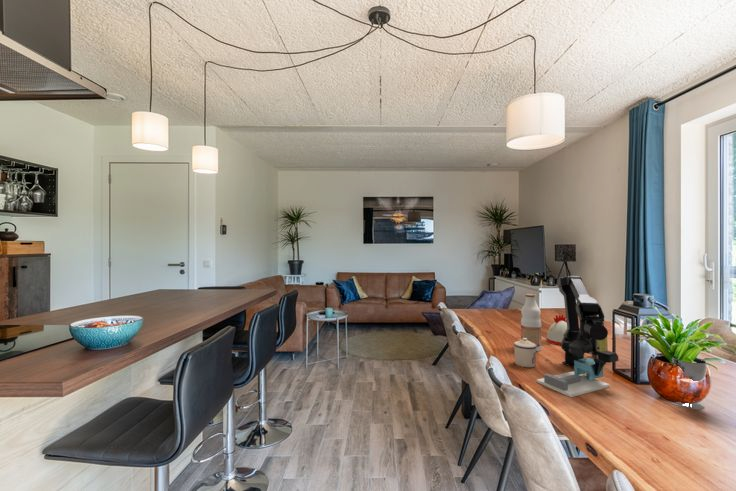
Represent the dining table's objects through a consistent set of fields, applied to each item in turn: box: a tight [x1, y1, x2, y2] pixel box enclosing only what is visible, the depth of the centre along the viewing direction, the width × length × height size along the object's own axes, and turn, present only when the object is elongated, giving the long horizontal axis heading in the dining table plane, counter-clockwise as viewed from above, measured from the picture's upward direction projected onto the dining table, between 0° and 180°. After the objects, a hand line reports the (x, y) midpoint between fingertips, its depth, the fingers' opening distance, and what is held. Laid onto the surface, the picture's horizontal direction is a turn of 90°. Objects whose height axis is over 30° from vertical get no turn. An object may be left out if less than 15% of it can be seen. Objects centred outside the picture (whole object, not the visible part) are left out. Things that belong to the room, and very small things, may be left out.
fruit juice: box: [520, 293, 542, 352], centre depth 169 cm, size 9×9×28 cm
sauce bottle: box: [592, 315, 609, 359], centre depth 156 cm, size 6×6×20 cm
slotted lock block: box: [573, 357, 604, 380], centre depth 129 cm, size 8×6×6 cm
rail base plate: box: [536, 370, 610, 398], centre depth 125 cm, size 21×14×4 cm, turn 113°
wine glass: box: [672, 356, 707, 411], centre depth 109 cm, size 8×8×15 cm
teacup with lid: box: [513, 338, 537, 368], centre depth 148 cm, size 12×9×12 cm
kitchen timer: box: [546, 314, 567, 346], centre depth 180 cm, size 14×14×15 cm
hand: (588, 372), depth 129 cm, fingers closed on slotted lock block, 6 cm apart
